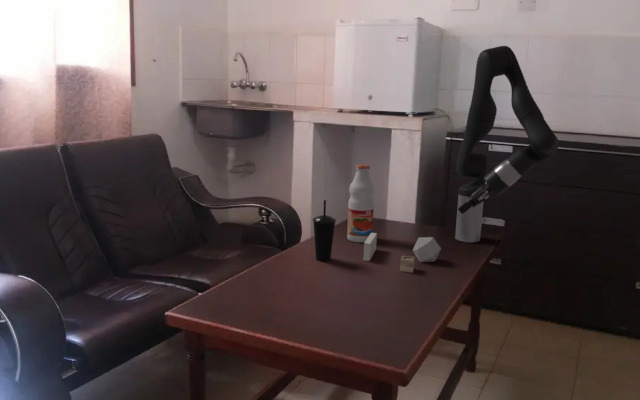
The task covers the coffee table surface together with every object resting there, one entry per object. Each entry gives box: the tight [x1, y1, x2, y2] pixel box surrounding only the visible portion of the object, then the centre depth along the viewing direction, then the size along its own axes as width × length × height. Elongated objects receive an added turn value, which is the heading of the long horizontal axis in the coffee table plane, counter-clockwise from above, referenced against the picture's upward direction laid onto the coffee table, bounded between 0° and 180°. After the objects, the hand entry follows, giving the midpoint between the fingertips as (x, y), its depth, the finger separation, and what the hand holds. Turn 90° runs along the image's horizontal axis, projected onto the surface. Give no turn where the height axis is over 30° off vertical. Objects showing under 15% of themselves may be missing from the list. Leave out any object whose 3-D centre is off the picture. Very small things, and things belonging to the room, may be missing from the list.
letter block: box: [399, 255, 416, 274], centre depth 195 cm, size 4×4×4 cm
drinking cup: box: [312, 199, 337, 262], centre depth 201 cm, size 8×8×20 cm
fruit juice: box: [346, 163, 375, 243], centre depth 225 cm, size 9×9×28 cm
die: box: [412, 236, 442, 263], centre depth 204 cm, size 8×9×10 cm
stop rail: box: [362, 232, 378, 262], centre depth 209 cm, size 14×2×6 cm, turn 166°
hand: (460, 211), depth 199 cm, fingers closed
